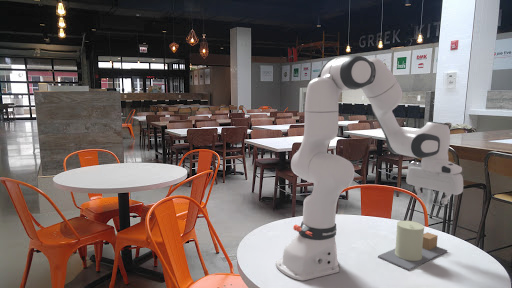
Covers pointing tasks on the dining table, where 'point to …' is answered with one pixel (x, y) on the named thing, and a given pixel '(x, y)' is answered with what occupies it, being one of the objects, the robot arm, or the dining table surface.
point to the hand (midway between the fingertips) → (431, 200)
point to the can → (409, 240)
